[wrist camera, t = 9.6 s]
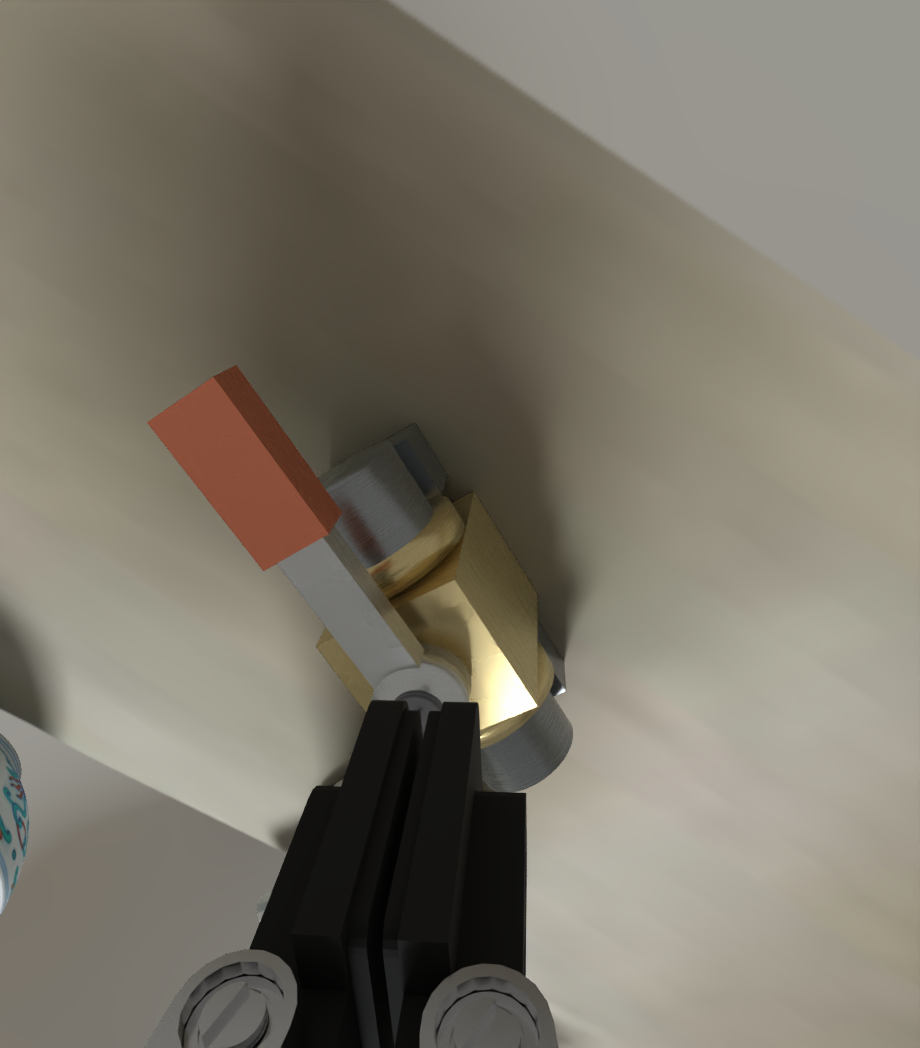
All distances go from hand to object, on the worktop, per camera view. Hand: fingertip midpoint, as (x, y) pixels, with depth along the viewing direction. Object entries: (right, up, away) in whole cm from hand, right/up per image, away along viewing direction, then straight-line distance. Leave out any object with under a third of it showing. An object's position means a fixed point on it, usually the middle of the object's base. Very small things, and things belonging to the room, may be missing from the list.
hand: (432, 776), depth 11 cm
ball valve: (0, +2, +25) cm, 25 cm away
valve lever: (-4, +2, +15) cm, 15 cm away
